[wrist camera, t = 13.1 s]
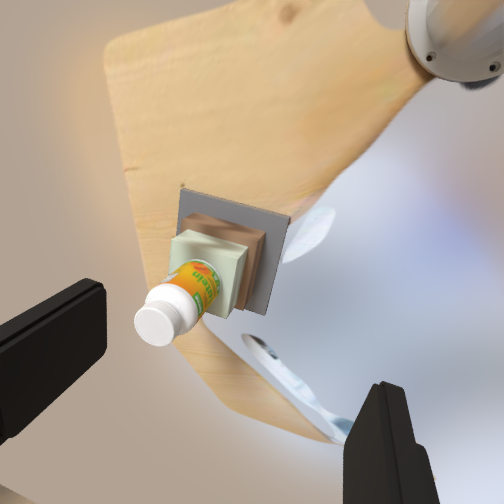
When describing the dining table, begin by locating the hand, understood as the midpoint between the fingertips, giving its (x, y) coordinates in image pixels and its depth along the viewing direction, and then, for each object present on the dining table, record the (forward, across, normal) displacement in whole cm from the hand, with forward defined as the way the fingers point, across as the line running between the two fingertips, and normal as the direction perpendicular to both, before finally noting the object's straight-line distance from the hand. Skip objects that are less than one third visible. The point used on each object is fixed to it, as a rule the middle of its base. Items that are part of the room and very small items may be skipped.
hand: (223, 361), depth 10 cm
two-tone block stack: (+29, +10, +11) cm, 33 cm away
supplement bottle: (+22, +9, +11) cm, 26 cm away
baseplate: (+30, +10, +11) cm, 34 cm away
